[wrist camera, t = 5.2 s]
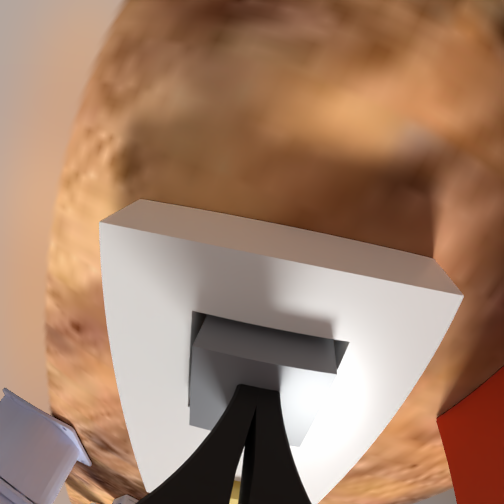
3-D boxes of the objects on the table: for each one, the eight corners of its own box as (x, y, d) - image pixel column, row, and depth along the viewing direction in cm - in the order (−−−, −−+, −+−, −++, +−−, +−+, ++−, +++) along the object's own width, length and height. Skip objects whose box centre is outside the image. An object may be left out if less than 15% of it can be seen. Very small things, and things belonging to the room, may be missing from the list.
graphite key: (207, 374, 14) (189, 424, 11) (216, 295, 12) (192, 345, 9) (302, 393, 13) (299, 447, 10) (331, 318, 11) (337, 374, 9)
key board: (157, 464, 21) (146, 491, 18) (140, 199, 12) (98, 221, 9) (298, 493, 20) (296, 522, 17) (433, 258, 11) (464, 295, 8)
